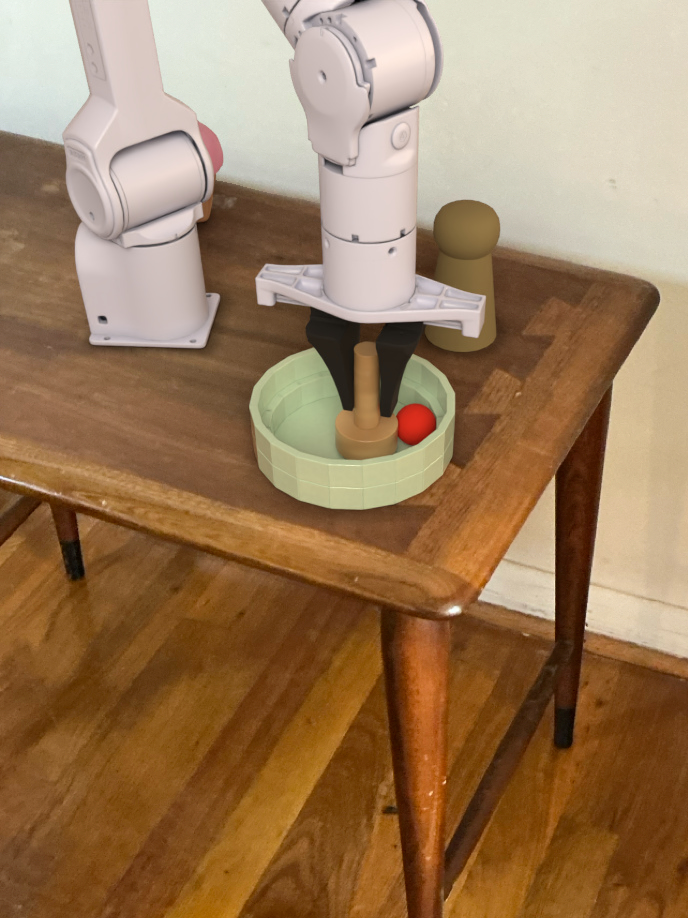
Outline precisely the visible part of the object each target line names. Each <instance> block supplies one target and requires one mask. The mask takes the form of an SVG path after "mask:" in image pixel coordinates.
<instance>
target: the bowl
mask: <svg viewBox="0 0 688 918" xmlns="http://www.w3.org/2000/svg"><path fill="white" fill-rule="evenodd" d="M380 388H381V382H380ZM414 403H416V404H422V405H424V406H426V407H428V408H429V409H430V410H431V411H432V413H433V414H434V416H435V419H436V430H435V431H434V432H433V433H431V434H430V435H429V436H428V437H426V438H425V439H424V440H423V441H421V442H420V443H419V444H417V445H415V446H412V445H408V444H406V443H404V442H403V441H401V440H400V439H399V437H398V441H397V449H396V451H395V453H394V454H393V455H388V456H382V457H376V458H370V459H364V460H347V459H346V458H344V457H343V456H341V455H340V454H339V452H338V451H337V449H336V445H335V420H336V417H337V415H338V414H339V413H340V412H341V411H342V410H343V407H342V404H341V400H340V397H339V394H338V391H337V388H336V386H335V383H334V381H333V378H332V376H331V374H330V372H329V370H328V368H327V366H326V364H325V363H324V361H323V359H322V358H321V356H320V355H319V354H318V352H317V351H316V349H315V348H314V347H313V346H312V347H311V348H308V349H305V350H302V351H299V352H296V353H294V354H291V355H289V356H286V357H285V358H284V359H282V360H281V361H279V362H277V363H276V364H274V365H273V366H271V367H269V368H268V369H267V370H266V371H265V372H264V374H263V375H262V376H261V377H260V379H259V380H258V381H257V382H256V383H255V384H254V386H253V388H252V392H251V397H250V400H249V405H248V409H249V411H248V412H249V420H250V426H251V427H250V428H251V437H252V446H253V451H254V456H255V459H256V462H257V466H258V469H259V470H260V471H261V472H262V474H263V475H264V476H265V477H266V478H267V479H268V481H269V482H270V483H271V484H272V485H273V486H274V487H275V488H276V489H277V490H279V491H281V492H283V493H285V494H286V495H288V496H290V497H291V498H294V499H295V500H297V501H300V502H302V503H303V502H304V503H307V504H310V505H314V506H318V507H323V508H326V509H331V510H357V511H358V510H359V511H360V510H361V511H363V510H371V509H376V508H381V507H387V506H392V505H396V504H399V503H401V502H404V501H405V500H408V499H410V498H412V497H415V496H417V495H419V494H421V493H423V492H424V491H426V490H427V489H428V488H429V487H430V486H432V485H433V484H434V483H435V482H437V480H439V479H440V478H441V477H442V476H443V475H444V474H445V471H446V470H447V468H448V466H449V464H450V462H451V460H452V458H453V455H454V440H455V423H456V392H455V391H454V389H453V387H452V385H451V383H450V382H449V379H448V378H447V376H446V374H445V373H443V372H442V371H441V370H440V369H438V368H437V367H436V366H435V365H433V363H431V361H429V360H428V359H426V358H423V357H421V356H418V355H416V354H414V353H413V354H412V356H411V358H410V359H409V361H408V363H407V365H406V368H405V371H404V374H403V377H402V381H401V385H400V390H399V395H398V402H397V404H396V407H395V409H394V411H393V413H394V414H395V416H396V415H397V413H398V412H399V411H400V410H401V409H402V408H403V407H404V406H406V405H409V404H414Z"/></svg>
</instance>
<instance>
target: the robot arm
mask: <svg viewBox="0 0 688 918" xmlns="http://www.w3.org/2000/svg"><path fill="white" fill-rule="evenodd" d="M260 1H261V2H262V4H263V5H264V7H265V9H266V10H267V12H268V13H269V15H270V16H271V17H272V19H273V20H274V22H275V24H276V25H277V26H278V29H280V31H281V32H282V34H283V35H284V37H285V39H286V40H287V41H288V43H289V44H290V46H291V47H292V49H293V51H294V53H293V58H289V59H288V67H289V72H290V79H291V81H292V82H291V83H292V86H293V89H294V91H295V94H296V97H297V98H298V101H299V103H300V105H301V107H302V109H303V112H304V114H305V118H306V126H307V140H308V141H310V143H311V148H312V151H313V152H314V153H315V154H317V164H318V165H317V166H318V187H319V188H318V189H319V205H320V206H319V209H320V210H319V211H320V231H321V233H320V234H321V251H322V263H320V264H319V263H318V264H315V263H314V264H274V263H264V266H262V268H261V269H260V271H259V272H258V274H256V276H255V278H254V280H255V290H256V300H257V301H256V302H257V305H259V306H266V307H273V306H275V305H276V303H277V302H278V303H283V304H289V305H297V306H303V307H310V308H309V309H310V315H309V320H308V322H307V324H306V325H305V327H304V328H305V336H306V340H307V342H308V343H309V344H310V345H311V346H312V348H313V347H314V348H315V349H316V351H317V352H318V354H319V355H320V356H321V358H322V359H323V361H324V363H325V364H326V366H327V368H328V370H329V372H330V374H331V376H332V378H333V381H334V383H335V386H336V388H337V391H338V394H339V397H340V400H341V404H342V407H343V410H347V411H353V409H354V347H355V346H356V345H357V344H358V343H361V342H360V341H361V327H362V326H361V325H362V324H384V325H383V326H382V328H381V330H380V332H379V334H378V337H377V338H376V340H375V343H376V351H377V355H378V361H379V368H380V378H381V388H380V405H379V407H380V416H382V417H388V418H390V417H391V416H392V413H393V411H394V409H395V407H396V404H397V402H398V395H399V390H400V385H401V381H402V377H403V374H404V371H405V368H406V365H407V363H408V361H409V359H410V358H411V356H412V354H414V352H415V351H416V349H417V347H418V345H419V342H420V340H421V338H422V336H423V334H424V333H425V327H426V325H433V326H440V327H446V328H453V329H459V330H462V335H463V336H467V337H473V338H478V337H479V334H480V332H481V329H482V326H483V323H484V316H485V304H486V296H485V295H479V294H473V293H469V292H465V291H462V290H459V289H456V288H453V287H450V286H448V285H445V284H442V283H439V282H437V281H434V279H431V278H428V277H426V276H423V275H419V274H417V273H416V265H417V262H416V261H417V226H418V225H417V220H418V187H419V186H418V185H419V184H418V182H419V146H420V145H419V144H420V143H419V142H420V141H419V140H420V105H417V104H419V103H421V102H422V101H424V100H426V99H428V98H430V97H431V96H432V94H434V92H436V89H437V88H438V86H439V84H440V82H441V79H442V75H443V71H444V61H445V60H444V57H445V56H444V45H443V41H442V36H441V32H440V30H439V27H438V25H437V23H436V20H435V19H434V16H433V15H432V13H431V11H430V9H429V6H428V4H427V2H426V0H260ZM68 3H69V7H70V12H71V16H72V21H73V25H74V30H75V34H76V39H77V42H78V43H77V44H78V47H79V52H80V56H81V61H82V65H83V70H84V74H85V79H86V82H87V87H88V92H89V94H88V97H87V98H86V100H85V101H84V103H83V104H82V106H81V107H80V108H79V110H78V111H77V112H76V113H75V115H74V116H73V118H72V119H71V120H70V122H68V124H67V126H66V127H65V128H64V130H63V132H62V134H61V137H62V140H63V148H64V154H65V163H66V169H65V170H66V171H65V184H66V185H65V186H66V189H67V194H68V198H69V199H70V201H71V204H72V207H73V209H74V211H75V212H76V214H77V216H78V218H79V219H80V220H81V222H80V223H79V225H78V227H77V230H76V234H75V240H74V262H75V263H74V264H75V270H76V276H77V280H78V284H79V288H80V293H81V297H82V302H83V306H84V310H85V314H86V318H87V322H88V327H89V331H90V335H89V337H88V342H89V344H90V345H91V346H106V347H107V346H108V347H109V346H111V347H112V346H113V347H139V348H141V347H145V348H172V349H173V348H174V349H175V348H177V349H203V348H205V347H206V345H207V343H208V341H209V336H210V333H211V330H212V327H213V325H214V321H215V318H216V316H217V315H216V314H217V311H218V308H219V305H220V302H221V295H220V294H219V293H217V292H207V291H206V284H205V283H206V282H205V277H204V270H203V269H204V268H203V262H202V255H201V249H200V241H199V240H200V239H199V232H198V227H197V223H196V221H197V220H199V219H200V218H202V217H204V216H203V209H202V203H205V202H206V201H207V200H209V198H210V197H211V195H212V192H213V193H214V191H213V186H214V187H215V184H214V170H213V164H212V161H211V157H210V155H209V152H208V150H207V148H206V146H205V144H204V142H203V139H202V136H201V133H200V130H199V126H198V121H199V120H198V115H197V113H196V112H195V111H194V110H193V109H192V107H190V106H188V105H187V104H186V103H184V102H183V101H181V100H180V99H178V98H177V97H175V96H173V95H171V94H169V93H167V92H165V90H164V83H163V77H162V72H161V67H160V61H159V56H158V51H157V45H156V39H155V33H154V29H153V24H152V22H153V21H152V17H151V11H150V6H149V1H148V0H68ZM412 106H413V107H412ZM197 120H198V121H197Z"/></svg>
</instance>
